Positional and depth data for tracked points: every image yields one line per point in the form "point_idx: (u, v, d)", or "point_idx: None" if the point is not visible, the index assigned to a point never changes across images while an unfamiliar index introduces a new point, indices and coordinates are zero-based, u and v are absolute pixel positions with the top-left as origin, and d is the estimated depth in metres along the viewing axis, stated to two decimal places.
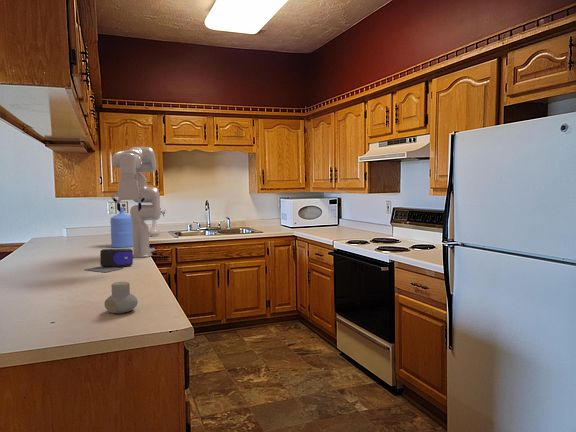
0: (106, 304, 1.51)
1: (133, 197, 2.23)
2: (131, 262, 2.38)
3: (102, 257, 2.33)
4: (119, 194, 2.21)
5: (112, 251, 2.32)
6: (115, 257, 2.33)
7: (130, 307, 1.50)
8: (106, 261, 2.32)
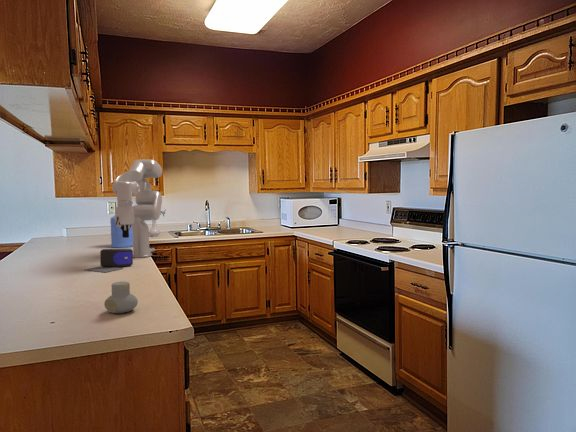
0: (106, 304, 1.51)
1: (131, 222, 2.42)
2: (131, 262, 2.38)
3: (102, 257, 2.33)
4: (121, 220, 2.36)
5: (112, 251, 2.32)
6: (115, 257, 2.33)
7: (130, 307, 1.50)
8: (106, 261, 2.32)
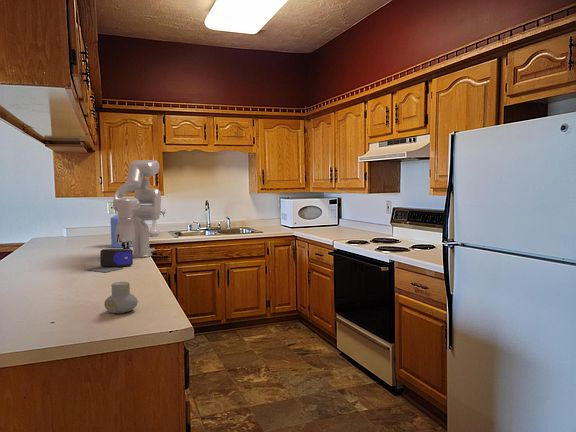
0: (106, 304, 1.51)
1: (132, 239, 2.43)
2: (131, 262, 2.38)
3: (102, 257, 2.33)
4: (122, 237, 2.37)
5: (112, 251, 2.32)
6: (115, 257, 2.33)
7: (130, 307, 1.50)
8: (106, 261, 2.32)
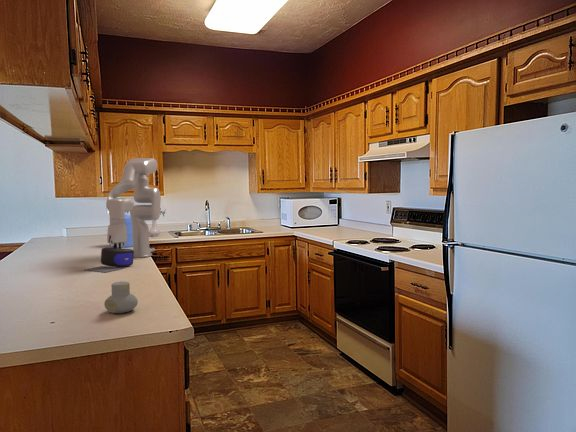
0: (106, 304, 1.51)
1: (124, 240, 2.38)
2: (131, 262, 2.37)
3: (103, 255, 2.31)
4: (114, 238, 2.32)
5: (113, 252, 2.30)
6: (116, 258, 2.32)
7: (130, 307, 1.50)
8: (106, 261, 2.32)
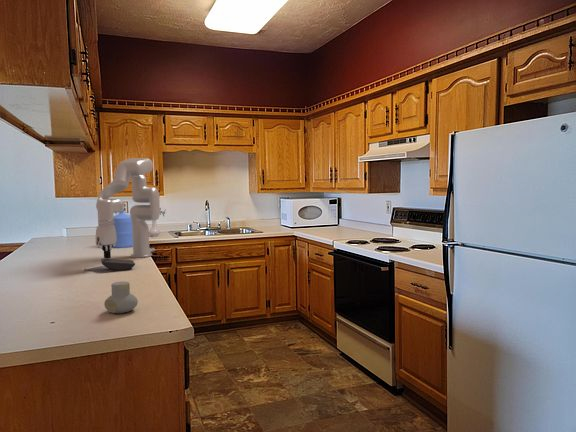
0: (106, 304, 1.51)
1: (113, 242, 2.31)
2: None
3: None
4: (102, 240, 2.25)
5: (113, 269, 2.24)
6: None
7: (130, 307, 1.50)
8: None
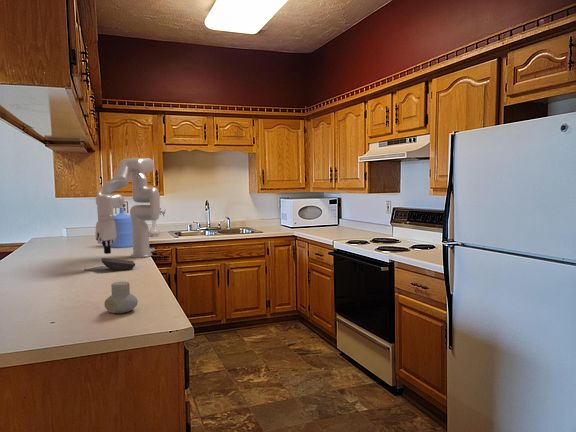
0: (106, 304, 1.51)
1: (113, 237, 2.31)
2: None
3: None
4: (102, 236, 2.25)
5: (113, 269, 2.24)
6: None
7: (130, 307, 1.50)
8: None
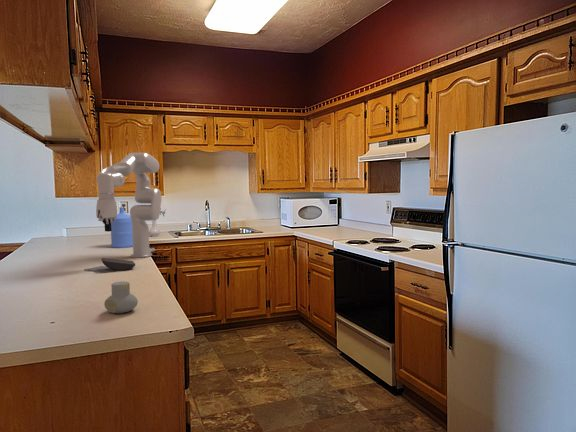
0: (106, 304, 1.51)
1: (113, 215, 2.33)
2: None
3: None
4: (103, 213, 2.27)
5: (113, 269, 2.24)
6: None
7: (130, 307, 1.50)
8: None
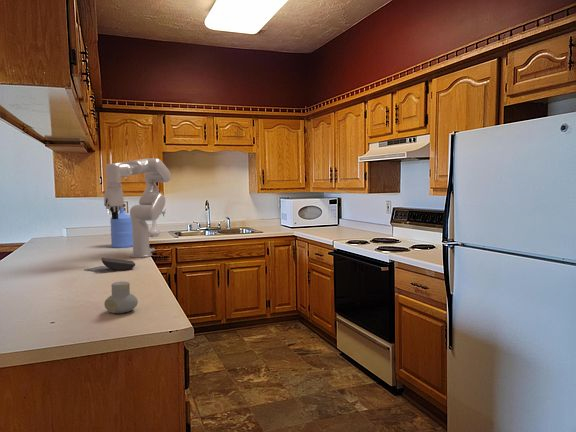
0: (106, 304, 1.51)
1: (120, 204, 2.45)
2: None
3: None
4: (110, 201, 2.39)
5: (113, 269, 2.24)
6: None
7: (130, 307, 1.50)
8: None
